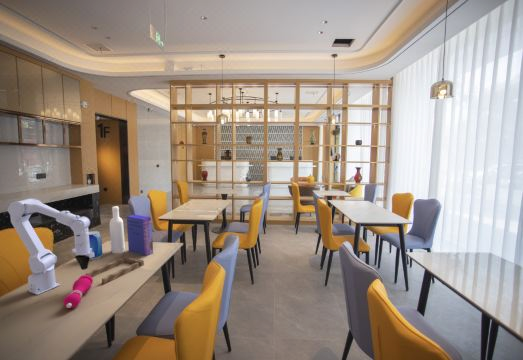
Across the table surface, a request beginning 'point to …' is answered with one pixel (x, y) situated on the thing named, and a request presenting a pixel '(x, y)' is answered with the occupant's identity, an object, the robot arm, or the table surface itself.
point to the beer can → (95, 244)
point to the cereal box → (140, 234)
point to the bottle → (117, 232)
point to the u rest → (133, 261)
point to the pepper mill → (78, 291)
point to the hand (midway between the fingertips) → (84, 268)
